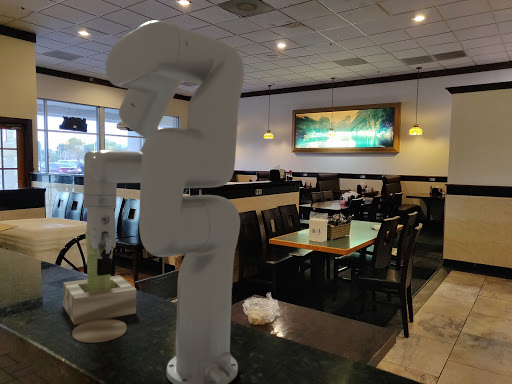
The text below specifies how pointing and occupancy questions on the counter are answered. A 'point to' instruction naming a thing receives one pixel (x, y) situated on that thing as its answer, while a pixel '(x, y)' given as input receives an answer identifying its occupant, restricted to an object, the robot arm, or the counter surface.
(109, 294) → the socket block
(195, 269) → the robot arm
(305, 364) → the counter surface
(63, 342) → the counter surface
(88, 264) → the tube
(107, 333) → the disc
